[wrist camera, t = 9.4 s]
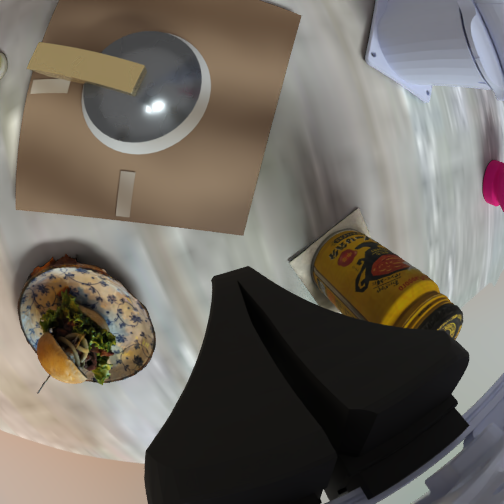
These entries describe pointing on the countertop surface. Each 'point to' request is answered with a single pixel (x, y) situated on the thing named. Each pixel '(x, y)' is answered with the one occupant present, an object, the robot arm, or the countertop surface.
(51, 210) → the post base
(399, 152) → the countertop surface
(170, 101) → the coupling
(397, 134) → the countertop surface
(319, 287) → the condiment
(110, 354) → the plate of food
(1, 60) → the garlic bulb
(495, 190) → the pepper mill
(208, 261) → the countertop surface
